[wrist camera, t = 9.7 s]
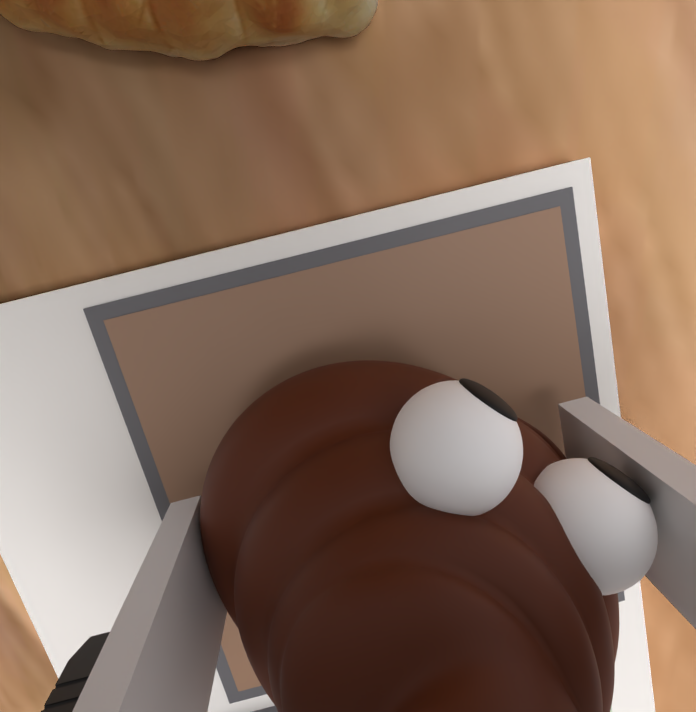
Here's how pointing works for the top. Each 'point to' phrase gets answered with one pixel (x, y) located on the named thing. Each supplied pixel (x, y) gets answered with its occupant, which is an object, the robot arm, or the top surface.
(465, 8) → the top surface
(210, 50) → the pastry
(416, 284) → the picture board
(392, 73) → the top surface
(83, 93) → the top surface
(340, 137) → the top surface
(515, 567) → the poop emoji
